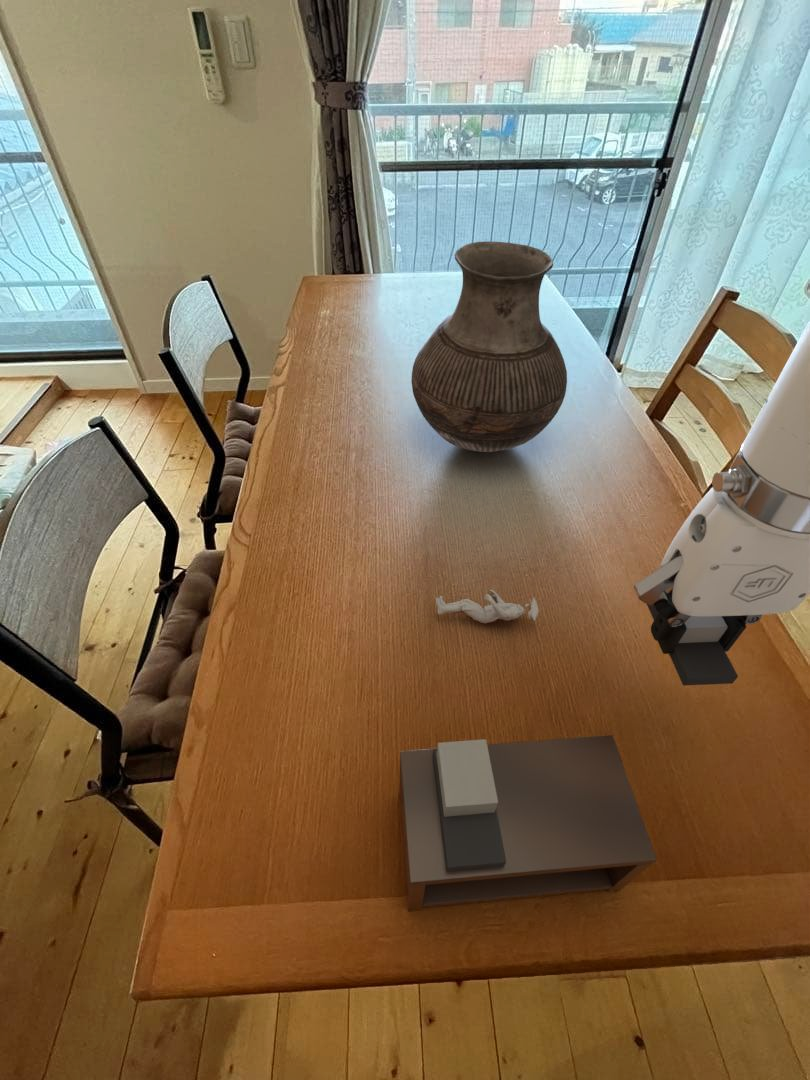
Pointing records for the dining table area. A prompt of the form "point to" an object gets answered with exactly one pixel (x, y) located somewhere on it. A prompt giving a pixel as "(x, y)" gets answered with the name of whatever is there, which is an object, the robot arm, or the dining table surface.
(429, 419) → the vase
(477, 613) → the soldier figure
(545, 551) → the dining table surface
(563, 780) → the shoe rack
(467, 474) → the dining table surface
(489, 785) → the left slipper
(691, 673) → the right slipper
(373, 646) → the dining table surface
